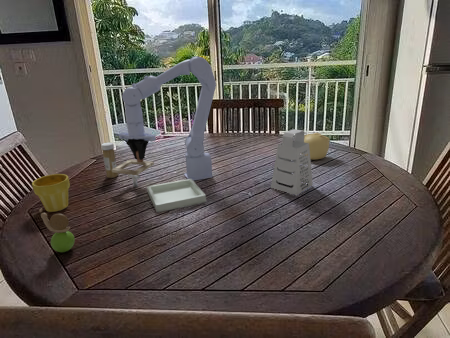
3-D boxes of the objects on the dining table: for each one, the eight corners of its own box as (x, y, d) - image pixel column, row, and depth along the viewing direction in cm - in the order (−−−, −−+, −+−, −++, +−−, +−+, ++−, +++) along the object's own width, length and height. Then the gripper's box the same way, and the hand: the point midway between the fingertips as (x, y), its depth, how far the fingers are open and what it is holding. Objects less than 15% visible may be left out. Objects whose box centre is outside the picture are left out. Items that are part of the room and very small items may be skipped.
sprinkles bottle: (119, 176, 133) (114, 143, 128) (108, 179, 130) (102, 146, 126) (116, 173, 136) (111, 141, 132) (105, 175, 134) (99, 143, 129)
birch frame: (136, 175, 114) (134, 161, 112) (112, 172, 118) (109, 159, 116) (154, 164, 123) (152, 151, 121) (130, 161, 127) (128, 149, 125)
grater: (312, 186, 117) (316, 130, 110) (296, 196, 110) (299, 137, 103) (287, 179, 124) (289, 126, 117) (270, 188, 117) (271, 132, 110)
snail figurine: (54, 245, 88) (43, 204, 83) (79, 243, 88) (70, 202, 84) (45, 257, 82) (34, 214, 78) (72, 255, 83) (62, 212, 79)
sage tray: (191, 184, 122) (191, 178, 121) (206, 202, 108) (205, 195, 107) (147, 193, 117) (146, 186, 116) (156, 212, 103) (156, 205, 102)
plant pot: (38, 218, 102) (31, 188, 99) (39, 205, 111) (32, 177, 107) (75, 209, 106) (69, 181, 103) (72, 197, 115) (67, 171, 112)
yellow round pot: (331, 155, 148) (333, 131, 144) (322, 163, 138) (324, 138, 135) (306, 152, 154) (307, 129, 150) (296, 159, 144) (297, 135, 141)
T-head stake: (129, 186, 123) (127, 175, 121) (132, 184, 124) (130, 173, 123) (139, 188, 121) (137, 176, 120) (142, 186, 123) (140, 174, 121)
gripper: (111, 123, 118) (116, 160, 123) (145, 125, 112) (150, 164, 117) (124, 119, 124) (129, 154, 129) (157, 121, 118) (161, 157, 123)
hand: (139, 158), depth 123 cm, fingers closed on birch frame
